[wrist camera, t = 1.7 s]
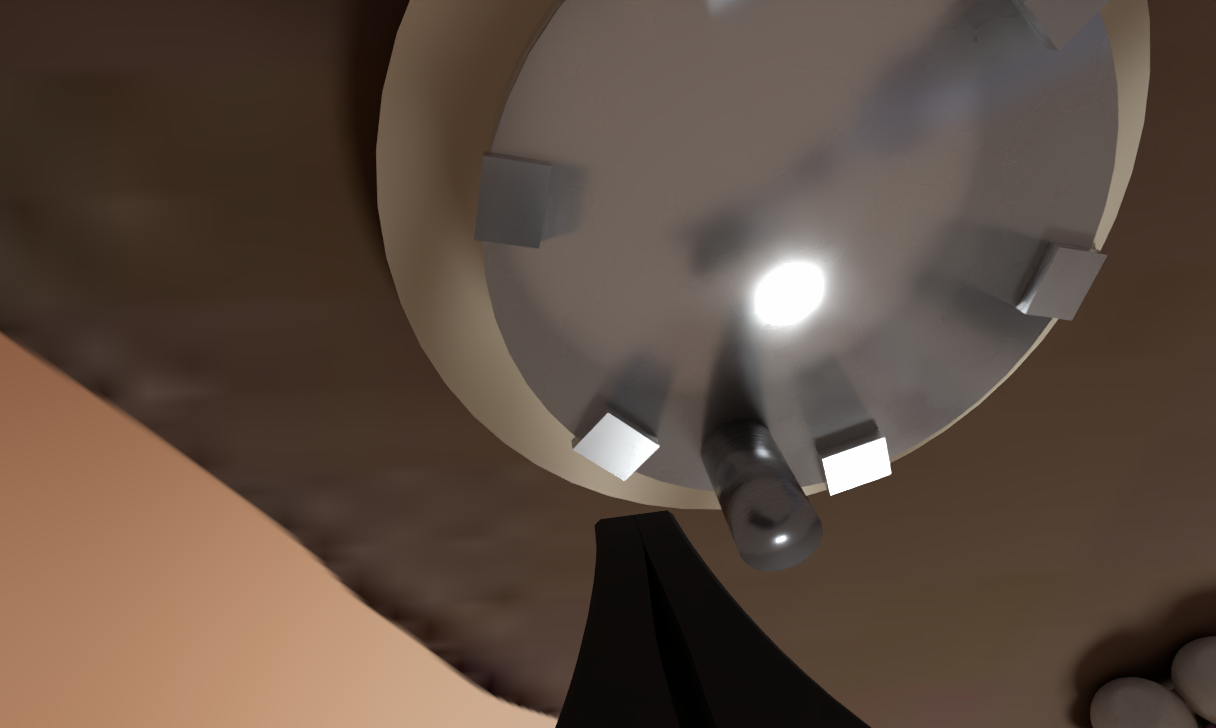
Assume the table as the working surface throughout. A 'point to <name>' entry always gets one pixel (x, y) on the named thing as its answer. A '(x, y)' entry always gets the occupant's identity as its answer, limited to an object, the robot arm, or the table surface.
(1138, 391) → the table surface
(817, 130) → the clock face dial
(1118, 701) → the red white round cluster
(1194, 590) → the table surface
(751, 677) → the robot arm
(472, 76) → the base plate
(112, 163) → the table surface
